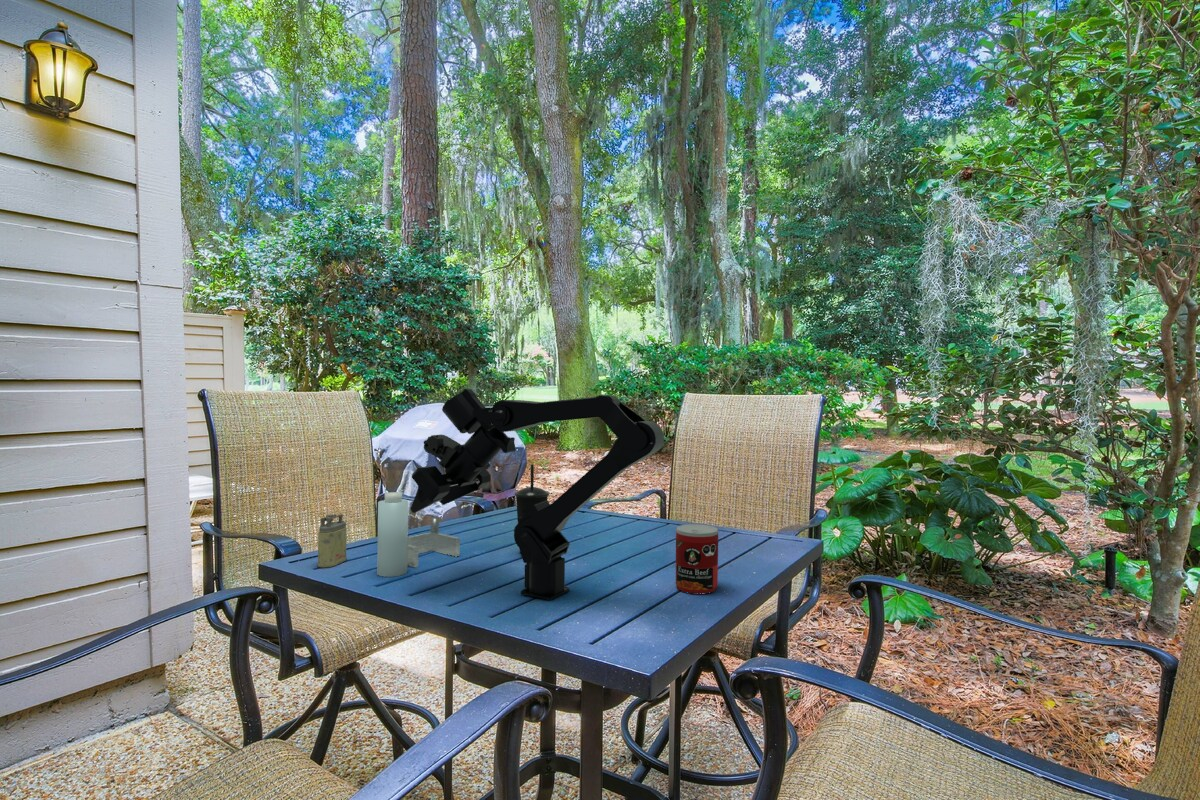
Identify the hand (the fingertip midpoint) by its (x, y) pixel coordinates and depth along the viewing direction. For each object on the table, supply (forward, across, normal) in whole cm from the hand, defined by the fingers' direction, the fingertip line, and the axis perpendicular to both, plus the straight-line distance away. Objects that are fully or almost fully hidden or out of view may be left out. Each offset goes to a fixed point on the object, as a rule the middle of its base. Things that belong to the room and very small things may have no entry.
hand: (427, 507), depth 112 cm
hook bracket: (+16, -12, +3) cm, 20 cm away
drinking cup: (+2, -23, +17) cm, 29 cm away
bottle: (+15, 0, +4) cm, 16 cm away
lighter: (+26, -1, -7) cm, 27 cm away
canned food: (-25, -13, +45) cm, 53 cm away
